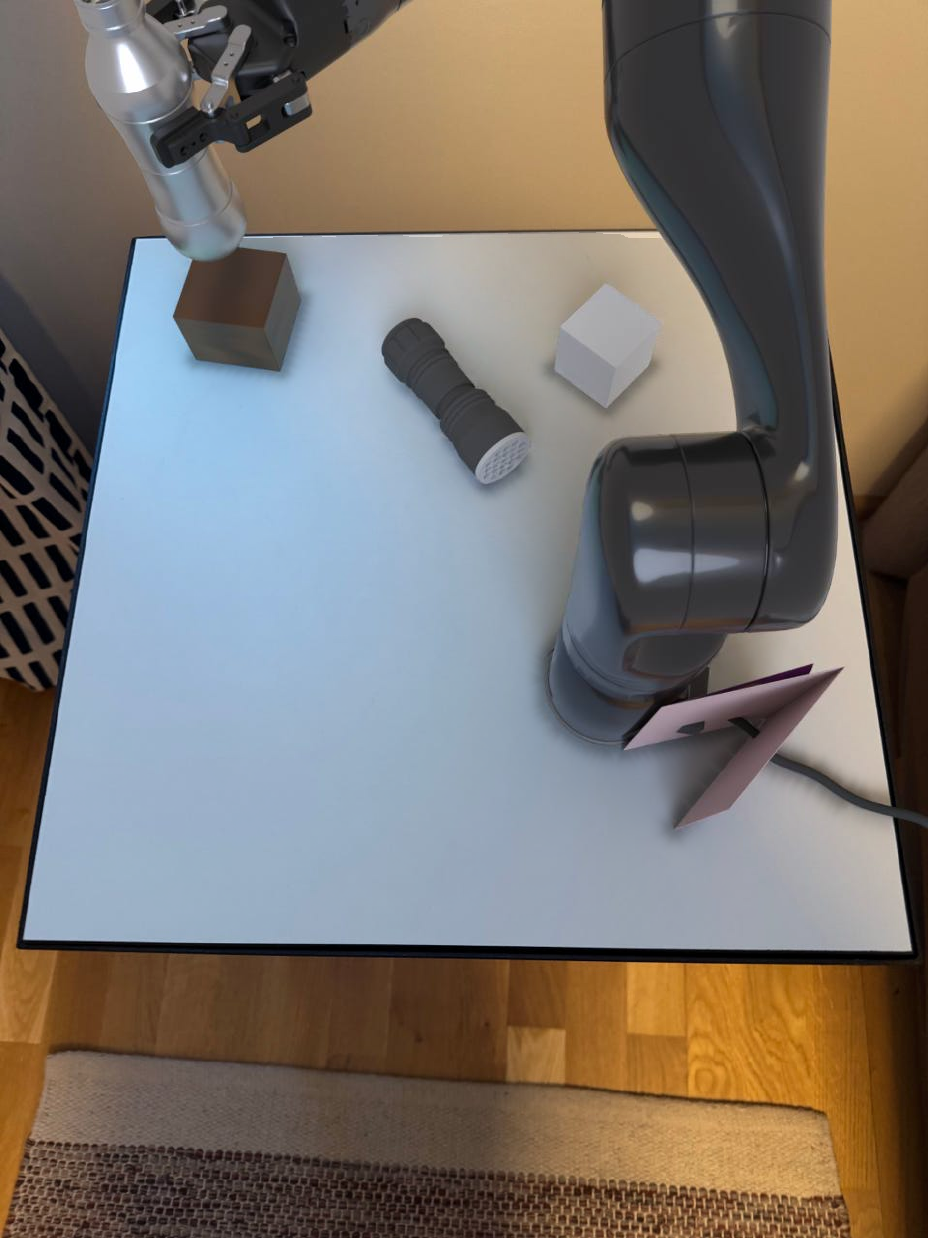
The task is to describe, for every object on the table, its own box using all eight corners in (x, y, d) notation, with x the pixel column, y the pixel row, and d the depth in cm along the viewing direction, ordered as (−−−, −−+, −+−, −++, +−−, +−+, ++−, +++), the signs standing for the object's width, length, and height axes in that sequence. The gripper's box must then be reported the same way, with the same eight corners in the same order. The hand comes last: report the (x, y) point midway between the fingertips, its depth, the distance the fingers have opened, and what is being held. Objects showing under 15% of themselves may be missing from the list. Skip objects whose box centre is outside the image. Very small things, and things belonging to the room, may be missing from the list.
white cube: (606, 409, 74) (615, 368, 68) (554, 370, 75) (559, 327, 69) (649, 365, 75) (662, 321, 69) (597, 328, 76) (605, 282, 70)
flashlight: (378, 370, 75) (370, 331, 70) (427, 340, 76) (423, 299, 71) (479, 493, 71) (478, 461, 66) (529, 459, 72) (532, 425, 67)
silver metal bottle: (269, 223, 67) (180, -40, 48) (223, 286, 65) (112, 39, 46) (203, 195, 68) (90, -72, 49) (156, 256, 67) (20, 3, 48)
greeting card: (762, 707, 65) (840, 652, 50) (795, 802, 62) (886, 773, 48) (619, 739, 64) (657, 693, 50) (647, 836, 62) (694, 817, 48)
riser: (301, 299, 78) (286, 252, 72) (280, 371, 76) (263, 328, 70) (219, 288, 79) (198, 241, 73) (195, 359, 76) (172, 316, 71)
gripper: (239, -116, 56) (35, 15, 53) (380, -11, 53) (171, 136, 50) (267, -3, 64) (89, 119, 60) (394, 96, 60) (212, 231, 57)
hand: (127, 126), depth 55 cm, fingers closed on silver metal bottle, 6 cm apart
